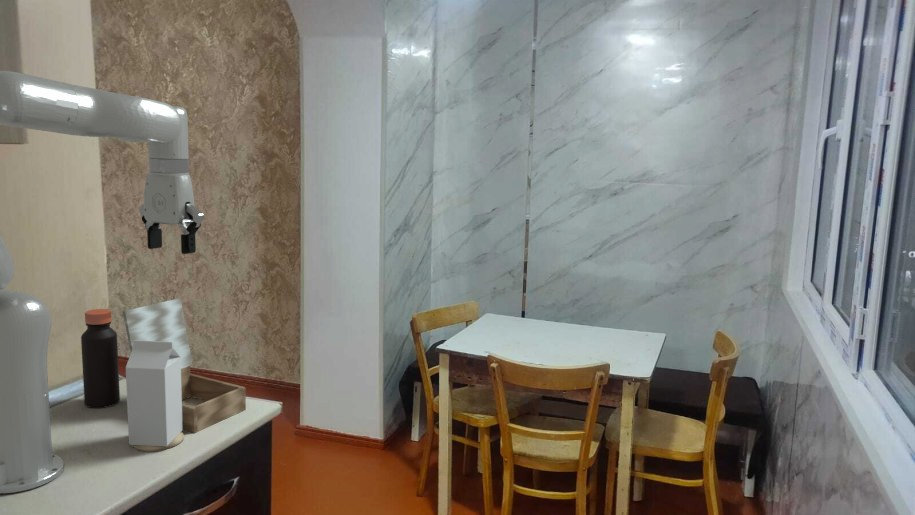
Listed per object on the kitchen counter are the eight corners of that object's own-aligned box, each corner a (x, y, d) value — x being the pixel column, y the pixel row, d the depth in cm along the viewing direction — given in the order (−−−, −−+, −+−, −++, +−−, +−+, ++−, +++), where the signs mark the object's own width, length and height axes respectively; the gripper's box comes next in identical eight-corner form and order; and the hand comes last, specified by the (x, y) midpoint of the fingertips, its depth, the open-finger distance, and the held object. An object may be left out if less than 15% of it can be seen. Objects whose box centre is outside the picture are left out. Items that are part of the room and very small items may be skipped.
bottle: (110, 409, 146) (106, 316, 143) (78, 408, 146) (72, 315, 143) (125, 397, 153) (122, 308, 149) (94, 396, 153) (90, 307, 149)
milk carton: (167, 447, 129) (163, 347, 125) (128, 445, 129) (124, 346, 125) (182, 431, 136) (180, 336, 132) (146, 429, 136) (142, 335, 132)
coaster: (155, 455, 126) (155, 452, 126) (121, 444, 130) (120, 441, 130) (193, 437, 134) (193, 434, 134) (160, 427, 138) (160, 424, 138)
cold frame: (194, 433, 136) (191, 325, 133) (127, 412, 145) (122, 310, 141) (245, 409, 149) (244, 310, 145) (181, 392, 157) (178, 297, 153)
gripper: (123, 165, 143) (127, 248, 146) (185, 170, 135) (187, 257, 138) (154, 165, 149) (157, 244, 152) (214, 169, 142) (216, 252, 145)
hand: (171, 250), depth 145 cm, fingers open, 9 cm apart
